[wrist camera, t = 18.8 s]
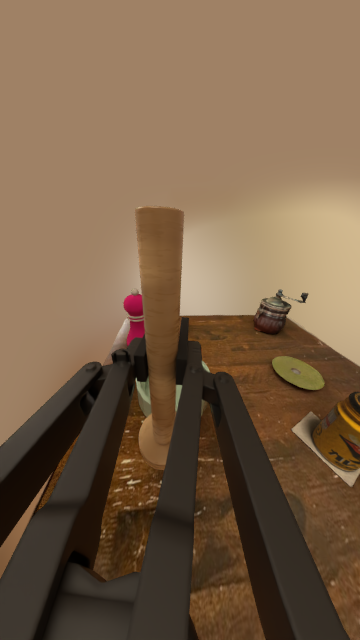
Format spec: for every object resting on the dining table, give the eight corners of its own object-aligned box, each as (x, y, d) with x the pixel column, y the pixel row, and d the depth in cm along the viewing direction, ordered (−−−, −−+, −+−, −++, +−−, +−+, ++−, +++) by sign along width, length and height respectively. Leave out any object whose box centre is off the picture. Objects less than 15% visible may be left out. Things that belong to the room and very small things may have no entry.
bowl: (123, 399, 32) (119, 380, 30) (168, 359, 44) (168, 342, 41) (183, 450, 25) (185, 431, 22) (218, 386, 36) (222, 368, 34)
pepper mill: (136, 343, 50) (129, 283, 40) (156, 348, 48) (154, 286, 39) (123, 358, 43) (111, 291, 34) (146, 363, 42) (141, 294, 32)
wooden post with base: (129, 445, 17) (70, 203, 7) (161, 405, 21) (155, 219, 11) (168, 485, 14) (171, 186, 4) (196, 431, 19) (232, 216, 8)
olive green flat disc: (323, 377, 40) (327, 372, 39) (316, 404, 33) (321, 398, 32) (277, 355, 47) (279, 350, 46) (264, 374, 40) (266, 369, 39)
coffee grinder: (277, 345, 52) (299, 295, 44) (244, 325, 64) (256, 283, 55) (298, 337, 57) (321, 291, 49) (264, 320, 69) (278, 280, 60)
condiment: (350, 487, 22) (415, 448, 16) (290, 430, 28) (321, 387, 23) (367, 458, 25) (426, 416, 19) (309, 412, 32) (341, 371, 26)
